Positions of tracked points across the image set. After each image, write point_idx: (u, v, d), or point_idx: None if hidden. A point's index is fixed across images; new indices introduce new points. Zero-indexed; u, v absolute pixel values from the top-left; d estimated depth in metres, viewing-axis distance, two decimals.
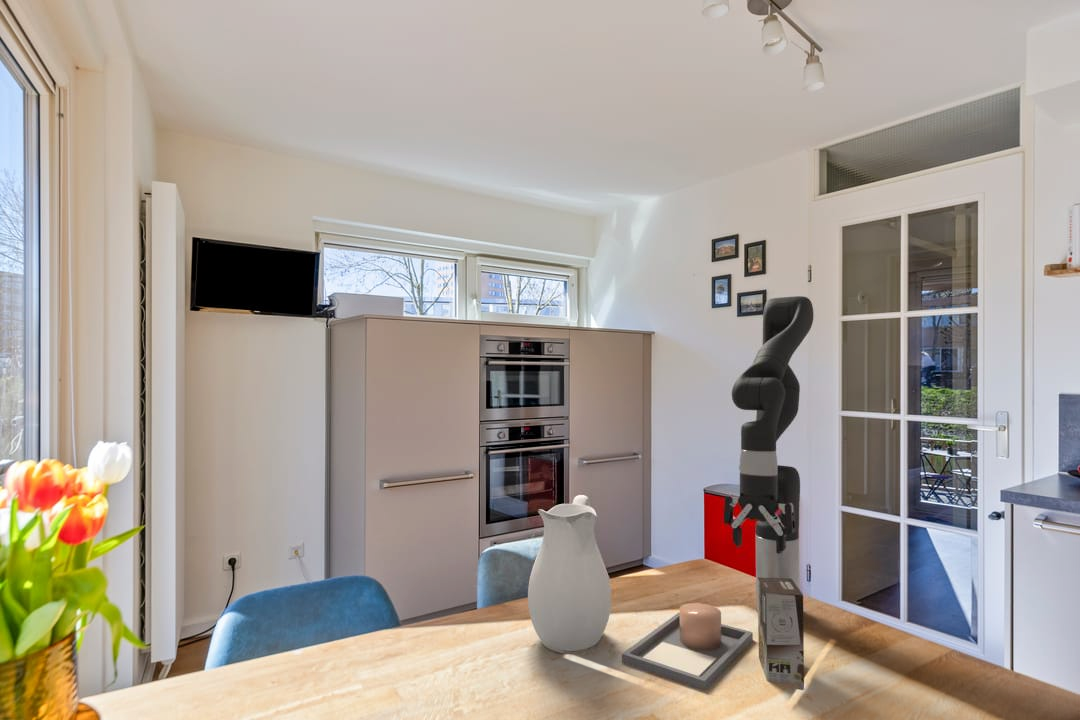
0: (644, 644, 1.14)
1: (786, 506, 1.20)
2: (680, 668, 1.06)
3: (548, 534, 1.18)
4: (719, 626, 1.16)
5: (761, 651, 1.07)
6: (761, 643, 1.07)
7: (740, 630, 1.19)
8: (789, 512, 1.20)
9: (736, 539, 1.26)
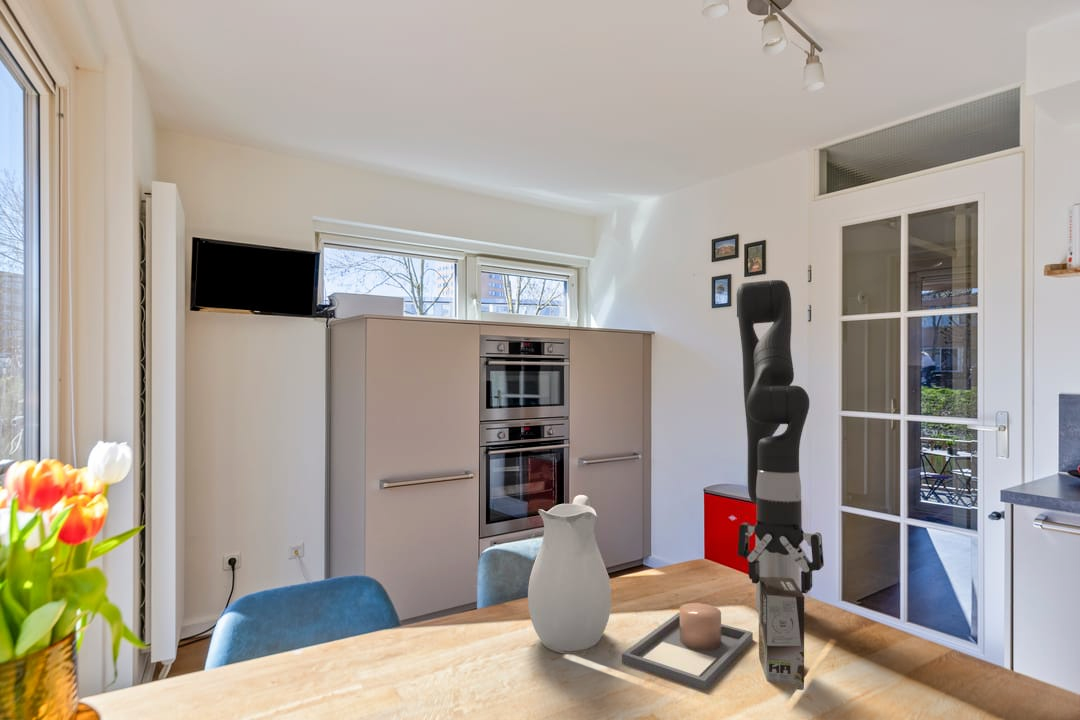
0: (644, 644, 1.14)
1: (812, 537, 1.02)
2: (680, 668, 1.06)
3: (548, 534, 1.18)
4: (719, 626, 1.16)
5: (761, 650, 1.07)
6: (761, 643, 1.07)
7: (740, 630, 1.19)
8: (816, 545, 1.02)
9: (753, 575, 1.08)
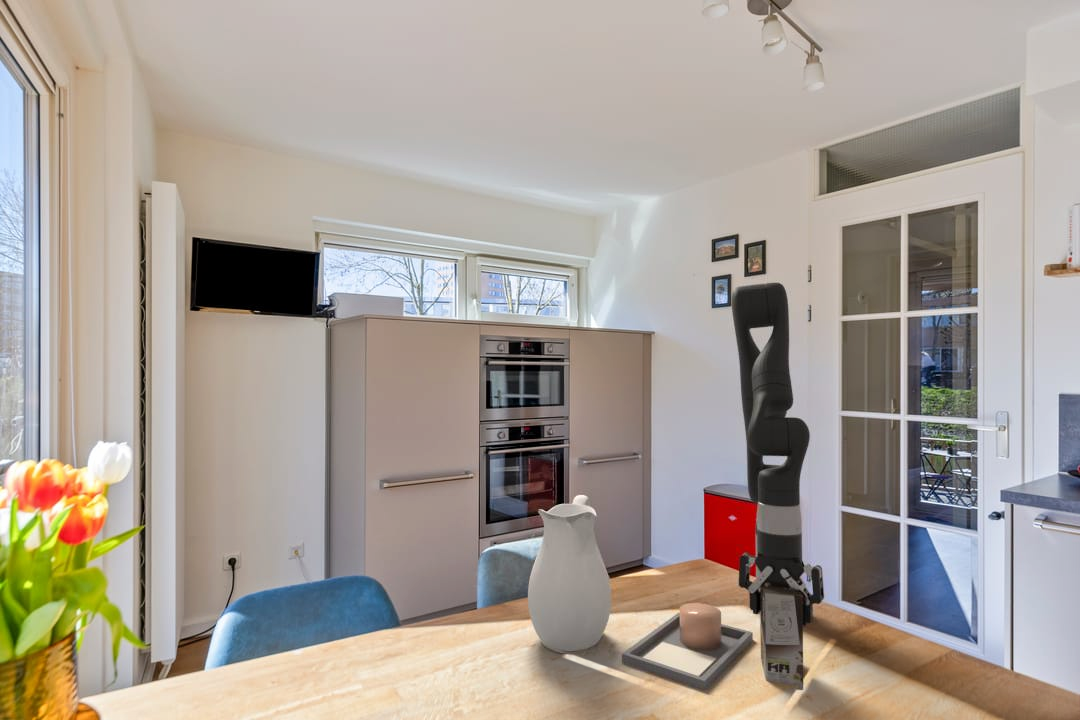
0: (644, 644, 1.14)
1: (813, 571, 1.02)
2: (680, 668, 1.06)
3: (548, 534, 1.18)
4: (719, 626, 1.16)
5: (762, 651, 1.08)
6: (762, 643, 1.07)
7: (740, 630, 1.19)
8: (817, 578, 1.02)
9: (754, 606, 1.08)
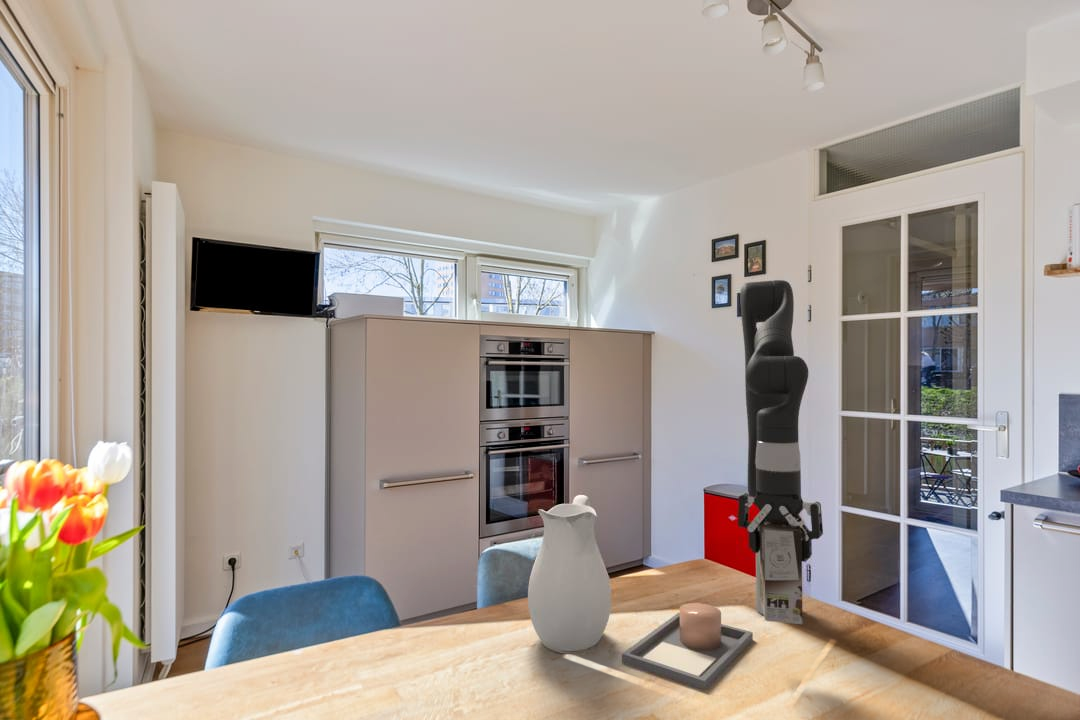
0: (644, 644, 1.14)
1: (812, 507, 1.02)
2: (680, 668, 1.06)
3: (548, 534, 1.18)
4: (719, 626, 1.16)
5: (761, 589, 1.08)
6: (761, 581, 1.08)
7: (740, 630, 1.19)
8: (816, 514, 1.02)
9: (753, 545, 1.09)
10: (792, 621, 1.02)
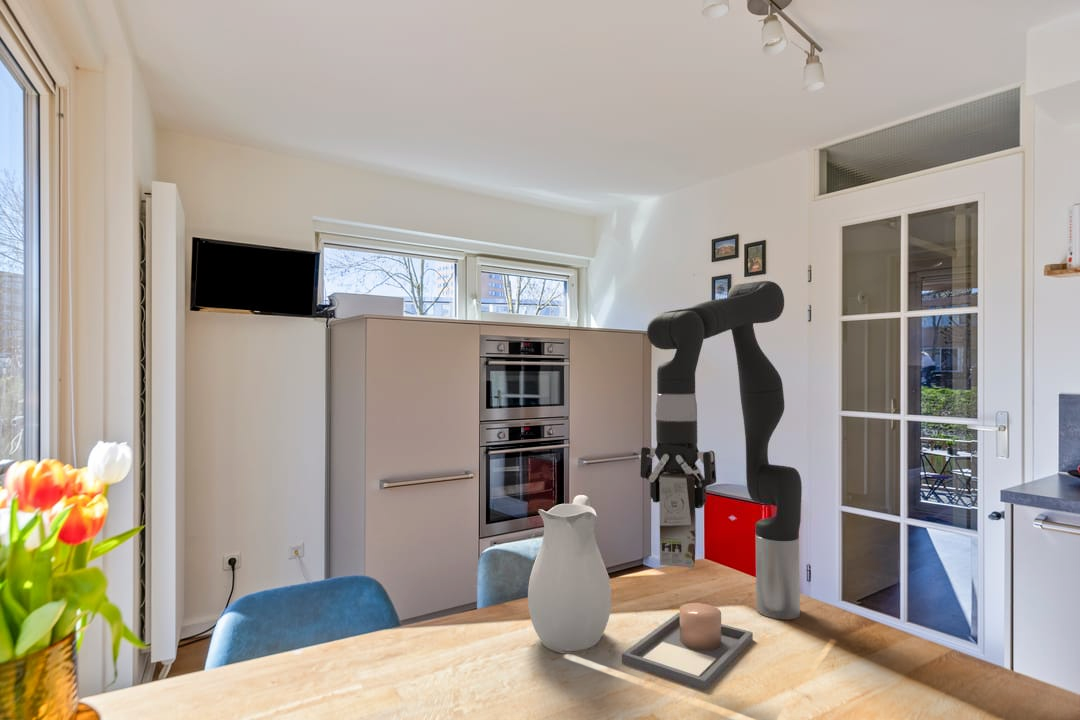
0: (644, 644, 1.14)
1: (704, 454, 1.06)
2: (680, 668, 1.06)
3: (548, 534, 1.18)
4: (719, 626, 1.16)
5: None
6: None
7: (740, 630, 1.19)
8: (708, 461, 1.06)
9: (654, 494, 1.13)
10: (685, 565, 1.06)
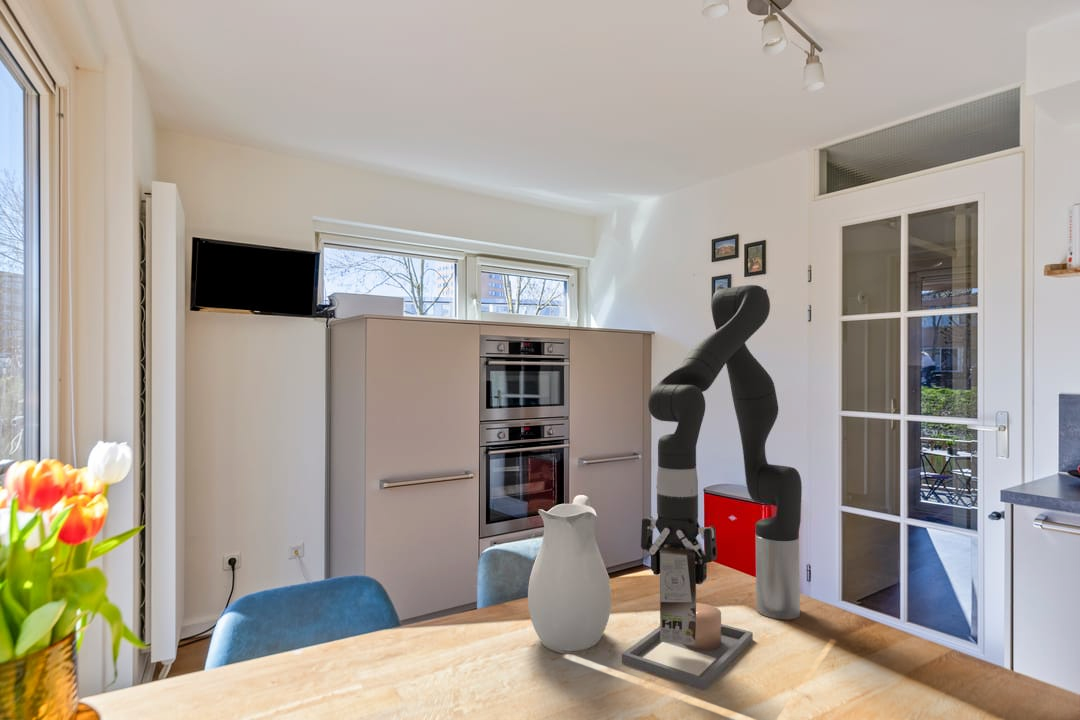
0: (644, 644, 1.14)
1: (705, 531, 1.06)
2: (680, 668, 1.06)
3: (548, 534, 1.18)
4: (719, 626, 1.16)
5: None
6: None
7: (740, 630, 1.19)
8: (708, 538, 1.06)
9: (654, 567, 1.12)
10: (685, 642, 1.05)
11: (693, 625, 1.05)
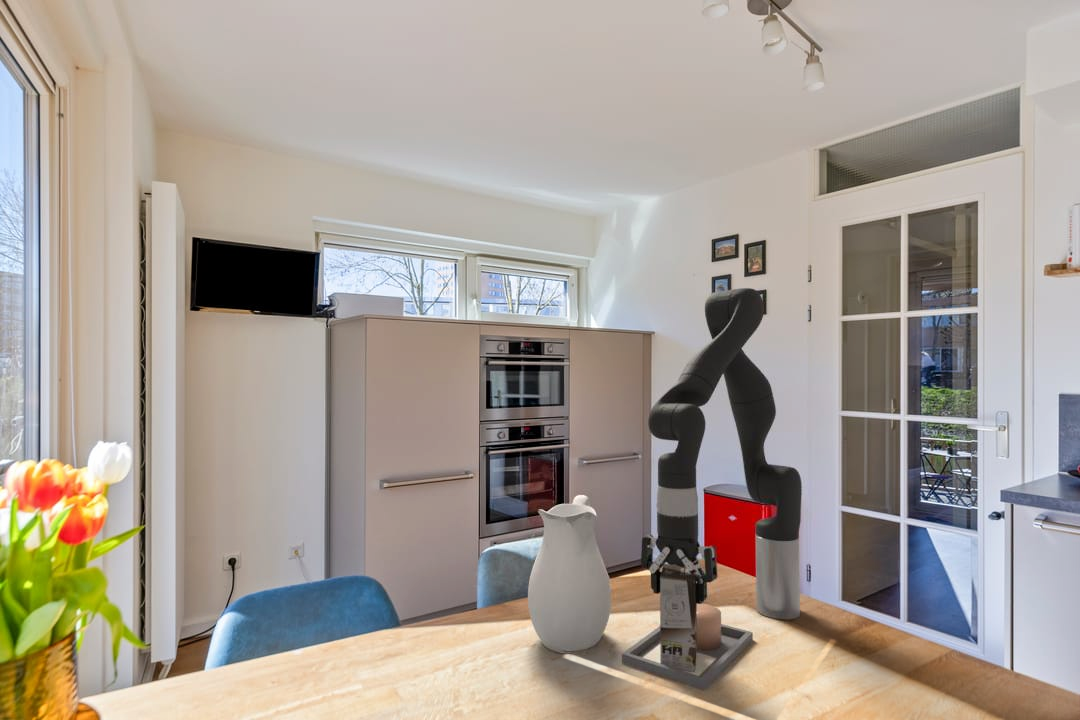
0: (644, 644, 1.14)
1: (705, 551, 1.06)
2: None
3: (548, 534, 1.18)
4: (719, 626, 1.16)
5: None
6: None
7: (740, 630, 1.19)
8: (709, 558, 1.06)
9: (654, 585, 1.12)
10: (685, 668, 1.05)
11: (693, 651, 1.05)
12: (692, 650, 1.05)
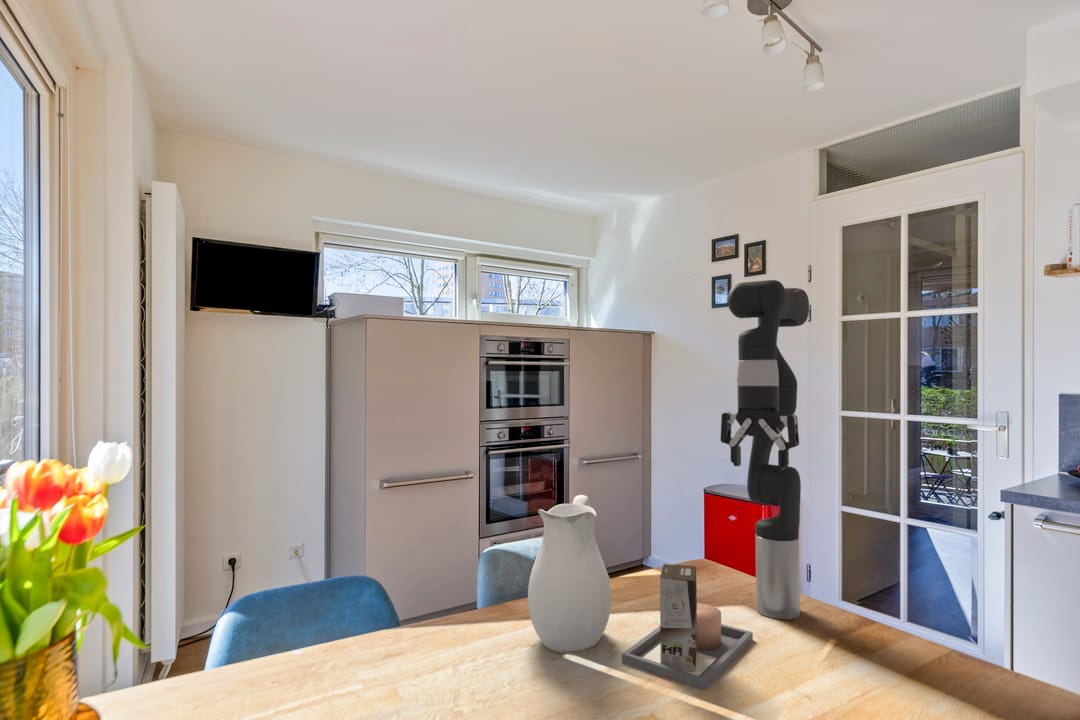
0: (644, 644, 1.14)
1: (788, 418, 1.10)
2: None
3: (548, 534, 1.18)
4: (719, 626, 1.16)
5: None
6: None
7: (740, 630, 1.19)
8: (792, 424, 1.10)
9: (734, 458, 1.16)
10: (685, 668, 1.05)
11: (693, 651, 1.05)
12: (692, 650, 1.05)
